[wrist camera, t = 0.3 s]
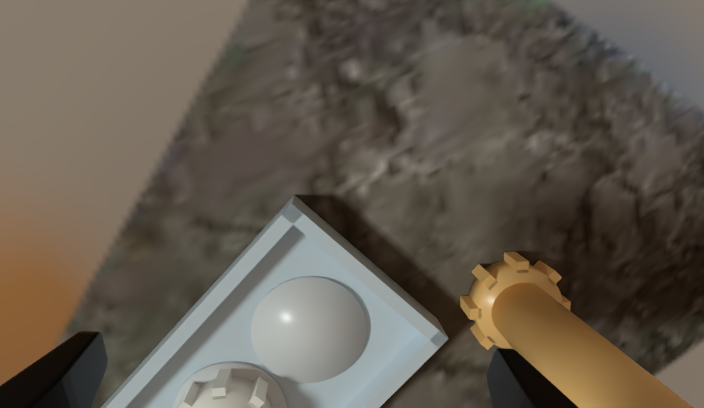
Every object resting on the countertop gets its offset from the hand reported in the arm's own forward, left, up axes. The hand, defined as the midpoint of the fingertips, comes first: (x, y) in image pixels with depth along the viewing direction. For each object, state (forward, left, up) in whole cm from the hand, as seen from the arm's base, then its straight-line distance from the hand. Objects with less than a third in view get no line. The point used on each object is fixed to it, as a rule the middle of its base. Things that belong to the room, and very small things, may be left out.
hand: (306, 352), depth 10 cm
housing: (-9, -5, -16) cm, 19 cm away
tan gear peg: (+4, -13, -15) cm, 21 cm away
